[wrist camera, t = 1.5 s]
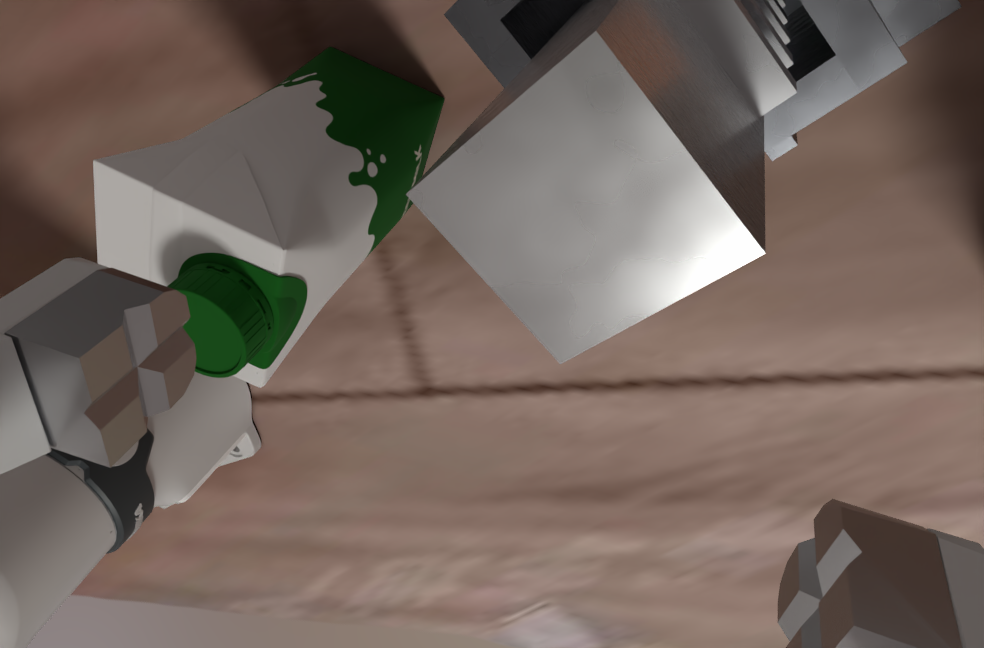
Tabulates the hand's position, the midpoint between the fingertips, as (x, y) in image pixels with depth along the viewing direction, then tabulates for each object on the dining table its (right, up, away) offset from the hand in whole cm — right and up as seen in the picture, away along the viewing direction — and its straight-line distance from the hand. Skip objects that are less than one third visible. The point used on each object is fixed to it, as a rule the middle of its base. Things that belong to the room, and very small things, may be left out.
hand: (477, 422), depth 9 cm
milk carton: (-7, +13, +33) cm, 36 cm away
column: (+9, +17, +23) cm, 30 cm away
